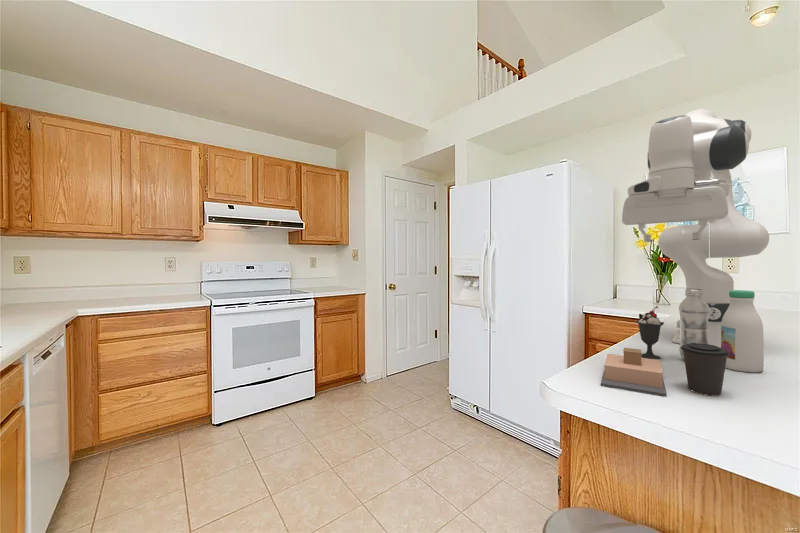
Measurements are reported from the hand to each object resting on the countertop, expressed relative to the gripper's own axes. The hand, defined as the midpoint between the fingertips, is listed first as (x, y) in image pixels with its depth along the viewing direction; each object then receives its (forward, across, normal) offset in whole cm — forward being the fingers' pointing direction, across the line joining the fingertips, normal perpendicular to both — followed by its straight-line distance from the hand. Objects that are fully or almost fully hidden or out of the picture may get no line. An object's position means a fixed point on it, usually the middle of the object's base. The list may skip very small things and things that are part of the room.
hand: (671, 240), depth 84 cm
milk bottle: (+33, -15, -14) cm, 39 cm away
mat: (+33, +8, +8) cm, 35 cm away
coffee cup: (+33, -5, +9) cm, 35 cm away
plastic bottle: (+33, -6, -16) cm, 37 cm away
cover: (+30, +8, +8) cm, 32 cm away
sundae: (+33, +4, -15) cm, 37 cm away
